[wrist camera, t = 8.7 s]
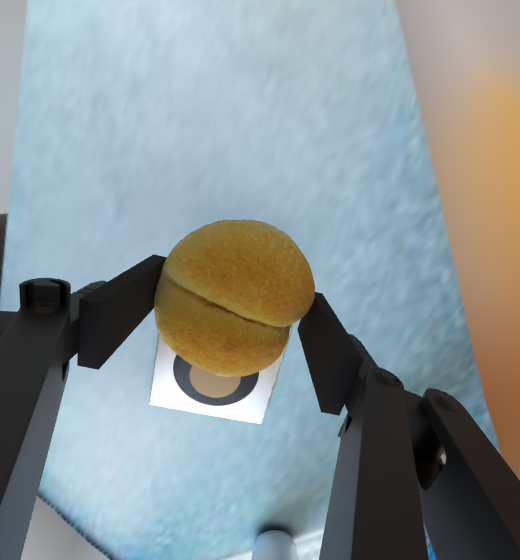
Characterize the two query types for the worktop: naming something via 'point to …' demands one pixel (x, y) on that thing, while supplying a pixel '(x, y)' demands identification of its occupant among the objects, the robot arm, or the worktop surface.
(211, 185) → the worktop surface
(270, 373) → the push button
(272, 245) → the bread roll
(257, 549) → the plastic bottle
